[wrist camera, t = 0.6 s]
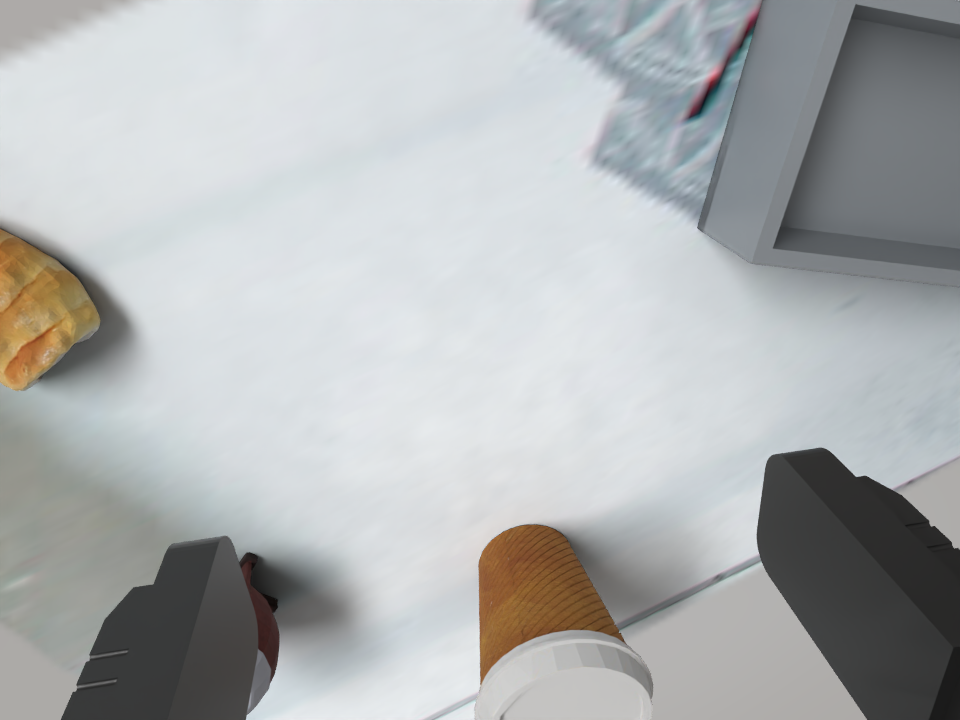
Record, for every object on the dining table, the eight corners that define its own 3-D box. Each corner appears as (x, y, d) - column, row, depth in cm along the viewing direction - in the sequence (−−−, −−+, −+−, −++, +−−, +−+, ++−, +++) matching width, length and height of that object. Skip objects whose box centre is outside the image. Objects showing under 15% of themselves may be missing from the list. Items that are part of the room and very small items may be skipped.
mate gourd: (308, 569, 44) (278, 811, 30) (251, 650, 46) (200, 908, 33) (193, 525, 41) (106, 769, 28) (139, 614, 44) (35, 877, 30)
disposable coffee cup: (509, 481, 43) (553, 635, 32) (624, 538, 46) (698, 695, 36) (425, 585, 46) (440, 759, 35) (539, 632, 49) (585, 803, 38)
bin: (697, 228, 37) (751, 263, 32) (767, -17, 32) (844, -23, 27) (1034, 269, 41) (1132, 306, 36) (1142, 57, 36) (1274, 64, 31)
